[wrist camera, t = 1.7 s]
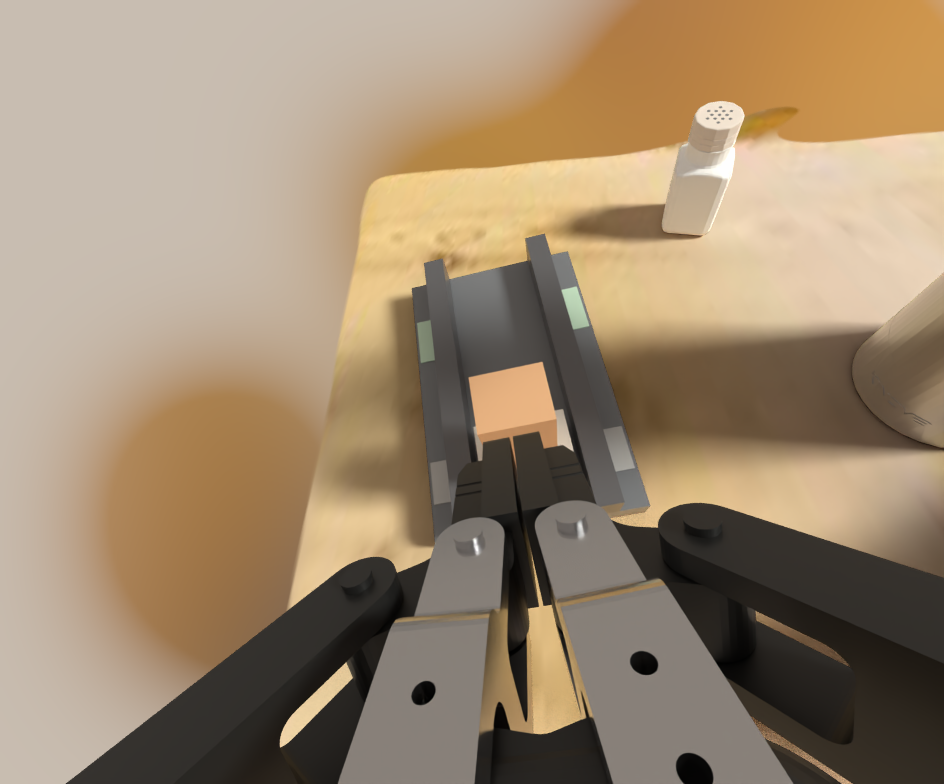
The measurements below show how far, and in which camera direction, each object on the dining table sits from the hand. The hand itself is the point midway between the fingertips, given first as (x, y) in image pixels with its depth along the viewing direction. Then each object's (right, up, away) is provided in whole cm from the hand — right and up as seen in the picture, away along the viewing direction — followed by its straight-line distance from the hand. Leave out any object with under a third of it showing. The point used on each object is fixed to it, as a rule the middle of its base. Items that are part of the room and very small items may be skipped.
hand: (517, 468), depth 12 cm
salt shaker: (+18, +17, +28) cm, 37 cm away
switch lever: (+3, -3, +18) cm, 18 cm away
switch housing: (+2, +2, +23) cm, 23 cm away
